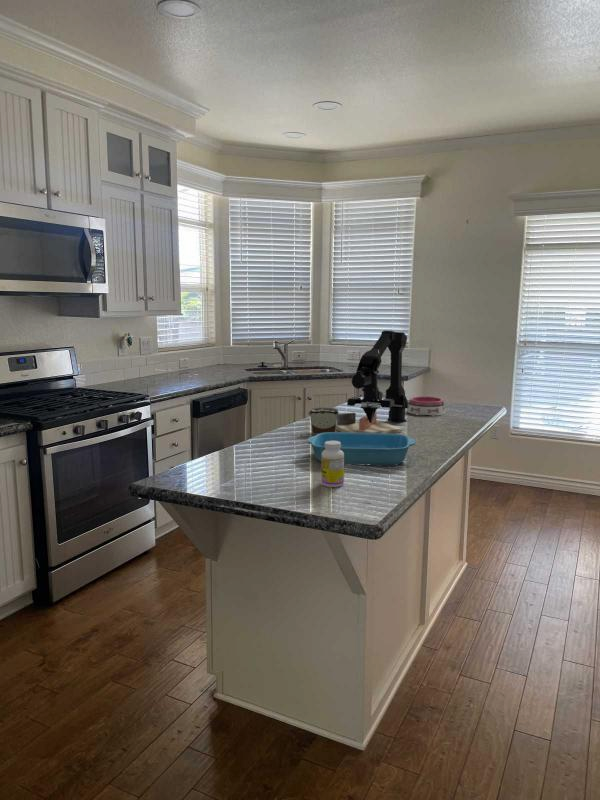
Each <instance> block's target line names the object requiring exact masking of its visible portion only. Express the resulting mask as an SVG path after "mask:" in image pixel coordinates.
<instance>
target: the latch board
mask: <svg viewBox="0 0 600 800" xmlns="http://www.w3.org/2000/svg"><path fill="white" fill-rule="evenodd" d="M356 415H357V414H356V412H344V413H339V415H338V414H337V422H336V430H337V431H338V432H351V433H387V434H400V433H403V428H402V427H399V426H396V425H392V424H390V423H386V422H384V421H381V420H378V419H376V422H375V423H374V424H372V425H371V426H369V427H368V428H366V429H359V421H356V420H357V419H356ZM399 432H400V433H399Z"/></svg>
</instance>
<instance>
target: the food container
mask: <svg viewBox="0 0 600 800" xmlns="http://www.w3.org/2000/svg"><path fill="white" fill-rule="evenodd" d="M337 414H338V415H339V414H340V413H339V410H338V409H337V408H335V407H334V408H333V407H314V408H310V409H309V411H308V415H309V418H310V425H311V433H312V435H318V434H320V433H326V432H337V431H336V424H337Z"/></svg>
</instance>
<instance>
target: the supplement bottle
mask: <svg viewBox="0 0 600 800" xmlns="http://www.w3.org/2000/svg"><path fill="white" fill-rule="evenodd" d="M340 447H341V442H339V441H326V442H325V448H326V449H325V450H324V451H323V452H322V454H321V461H320V462H321V466H320V467H321V477H320V479H321V480H320V481H321V482H320V483H321V484H322V486H323V485H324V487H326V486H327V487H326V488H332V487H334V488H340V487H342V486H343V485H344V484H345V464H344V453H343V451H342V450H340ZM339 486H340V487H339Z"/></svg>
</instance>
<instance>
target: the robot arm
mask: <svg viewBox="0 0 600 800" xmlns="http://www.w3.org/2000/svg"><path fill="white" fill-rule="evenodd" d="M407 341H408V336H407V335H406V333H405V332H403V331H402V332H401V331H400V332H399V331H394V330H382V331H381V333H380V336H379V338H378V339H377V341H376V342H375V343H374V345H373V347H372V348H371V349H370V350H367V351H365V352H364V354H363V355H362V356H361V358H360V359H359V362H358V365H357V369H356V372H355V375H353V376H352V379H351V384H352V386H353V387H354V388H355V389H356V390H357V389H358V390H359V389H361V390H362V393H363V398H361V397H358V396H357V397H356V396H352V397H350V398H348V399H347V401H346V405H347V406H349V407H350V406H352V407H355V405H360V409H362V410H363V412H364V414H365V416H366V415H367V417H368V420H369V422H370V423H372V420H373V417H374V414H375V412H377V410H378V409H380V408H383V409H387V408H388V409H389V410H388V418H386V419H387V421H389V422H393V423H402V422H408V420H407V419H406V410H407V409H408V406H409V400H408V399H407V397H406V390H405V389H404V387H403V385H402V374H403V373H402V371H403V370H402V369H403V367H402V366H403V364H402V363H403V351H404V350H405V348H406V346H407ZM387 348H388V350H389V352H390V376H389V377H390V378H389V379H390V380H389V381H390V382H389V387H388V388H387V389H386V390H385V398H383V394H384V393H383V392H382V391H380V389H379V386H378V374H379V373H380V371H379V370H378V369H379V368H380V367H381V364H382V362H383V361H382V356H383V355H384V353H385V351H387Z"/></svg>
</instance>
